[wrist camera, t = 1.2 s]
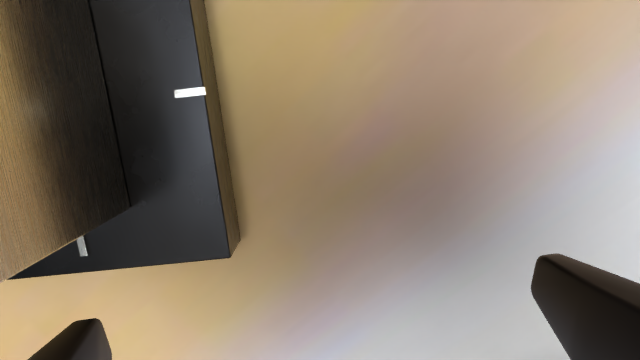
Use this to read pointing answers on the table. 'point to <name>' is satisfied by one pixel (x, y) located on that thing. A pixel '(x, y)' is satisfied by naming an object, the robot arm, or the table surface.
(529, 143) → the table surface
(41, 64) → the brushed aluminum block
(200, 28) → the dial plate
